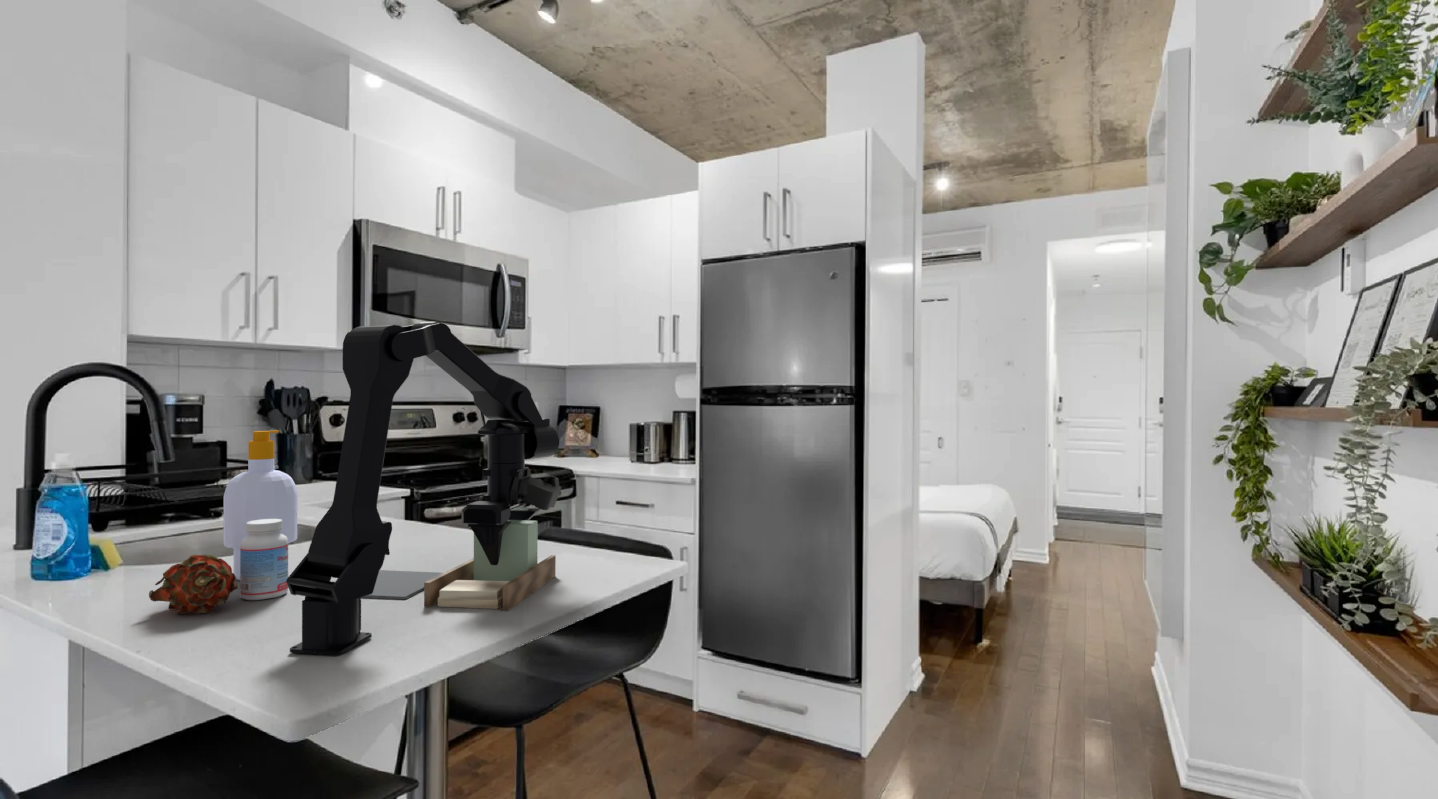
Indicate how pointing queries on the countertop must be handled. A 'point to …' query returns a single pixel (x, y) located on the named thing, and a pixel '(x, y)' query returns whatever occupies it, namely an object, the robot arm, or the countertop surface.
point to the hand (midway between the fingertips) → (505, 558)
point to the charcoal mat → (400, 584)
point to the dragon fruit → (196, 584)
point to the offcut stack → (472, 594)
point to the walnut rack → (511, 590)
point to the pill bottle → (263, 560)
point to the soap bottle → (258, 496)
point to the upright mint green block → (509, 553)
